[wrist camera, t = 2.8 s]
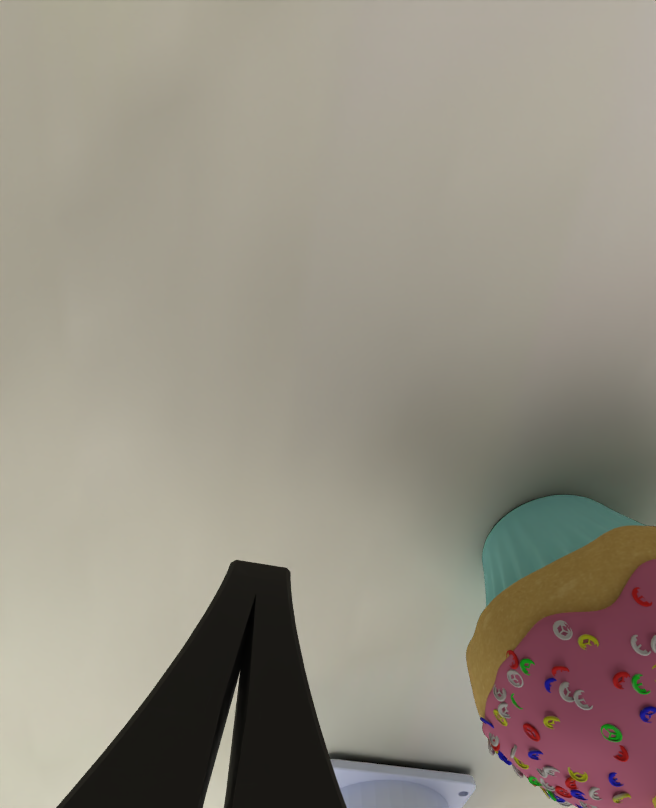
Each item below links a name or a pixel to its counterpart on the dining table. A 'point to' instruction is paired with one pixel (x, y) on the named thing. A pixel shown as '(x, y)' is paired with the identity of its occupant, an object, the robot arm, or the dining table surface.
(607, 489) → the dining table surface
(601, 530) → the cupcake
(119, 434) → the dining table surface
